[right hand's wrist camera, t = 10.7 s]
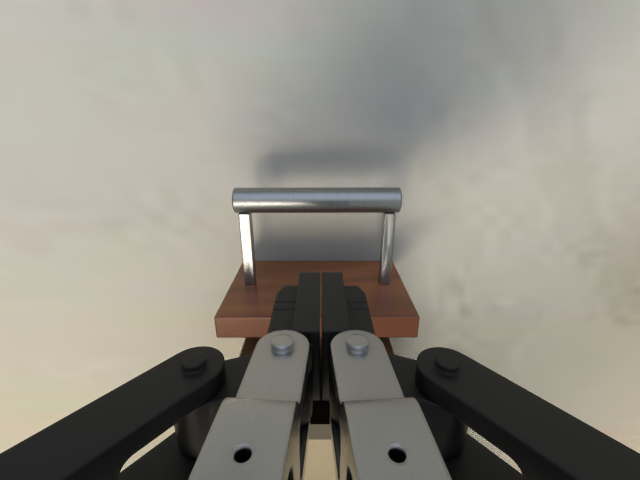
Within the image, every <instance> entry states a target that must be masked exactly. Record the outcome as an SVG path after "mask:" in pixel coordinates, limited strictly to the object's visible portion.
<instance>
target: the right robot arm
mask: <svg viewBox="0 0 640 480" xmlns="http://www.w3.org/2000/svg"><path fill="white" fill-rule="evenodd" d="M313 400H320V272H300V274H299V281H298V286H284V287H283V288H282V289H281V290H279V291H278V292H277V295H276V299H275V303H274V307H273V311H272V315H271V320H270V324H269V328H268V332H267V334H266V335H265V336H263V337H262V338H261V339H260V340H259V341H258V342H257V344H256V347H255V349H254V352H252V353H250V354H248V355H245V356H242V357H238V358H234V359H230V360H225V361H224V356H223V354H222V353H221V352H220V351H219V350H217V349H215V348H212V347H195V348H190V349H187V350H184V351H182V352H180V353H178V354H176V355H175V356H173V357H171V358H169V359H168V360H166V361H164V362H162V363H160V364H159V365H157V366H155V367H153V368H152V369H150V370H148V371H146V372H145V373H143V374H141V375H139V376H137V377H136V378H134V379H132V380H130V381H129V382H127V383H125V384H123V385H121V386H120V387H118V388H116V389H114V390H113V391H111V392H109V393H107V394H105V395H104V396H102V397H100V398H98V399H97V400H95V401H93V402H91V403H90V404H88V405H86V406H84V407H82V408H81V409H79V410H77V411H75V412H74V413H72V414H70V415H68V416H66V417H65V418H63V419H61V420H59V421H58V422H56V423H54V424H52V425H51V426H49V427H47V428H45V429H43V430H42V431H40V432H38V433H36V434H35V435H33V436H31V437H29V438H27V439H26V440H24V441H22V442H20V443H19V444H17V445H15V446H13V447H12V448H10V449H8V450H6V451H4V452H3V453H1V454H0V480H304V475H305V467H306V458H307V450H308V441H309V433H310V418H311V416H312V411H313ZM322 400H330V433H331V441H332V450H333V458H334V467H335V475H336V480H640V454H639V453H637V452H636V451H634V450H632V449H630V448H629V447H627V446H625V445H623V444H621V443H620V442H618V441H616V440H614V439H613V438H611V437H609V436H607V435H605V434H604V433H602V432H600V431H598V430H597V429H595V428H593V427H591V426H589V425H588V424H586V423H584V422H582V421H581V420H579V419H577V418H575V417H574V416H572V415H570V414H568V413H566V412H565V411H563V410H561V409H559V408H558V407H556V406H554V405H552V404H550V403H549V402H547V401H545V400H543V399H542V398H540V397H538V396H536V395H535V394H533V393H531V392H529V391H527V390H526V389H524V388H522V387H520V386H519V385H517V384H515V383H513V382H511V381H510V380H508V379H506V378H504V377H503V376H501V375H499V374H497V373H496V372H494V371H492V370H490V369H488V368H487V367H485V366H483V365H481V364H480V363H478V362H476V361H474V360H472V359H471V358H469V357H467V356H465V355H464V354H462V353H460V352H457V351H455V350H452V349H448V348H441V347H434V348H429V349H426V350H424V351H422V352H421V353H420V354H419V356H418V358H417V360H414V359H409V358H405V357H401V356H397V355H395V354H392V353H390V352H389V351H387V350H386V349H385V347H384V344H383V342H382V341H381V340H380V339H379V338H378V337H377V336H376V335H375V331H374V327H373V323H372V319H371V315H370V311H369V307H368V303H367V299H366V295H365V292H363V291H362V290H361V289H360V288H359V287H358V286H344V282H343V275H342V272H322ZM173 425H174V427H175V432H174V433H173V434H172V435H170V436H169V437H168V438H166V439H165V440H164V441H162V442H161V443H160V444H158V445H157V446H156V447H154V448H153V449H151V450H150V451H149V452H147V453H146V454H145V455H143V456H142V457H141V458H139V459H138V460H137V461H135V462H134V463H133V464H131V465H130V466H129V467H127V468H126V469H125V470H123V471H122V472H120V470H121V468H122V467H123V465H124V464H125V462H126V461H127V460H128V459H129V458H130V457H131V456H132V455H133V454H134V453H136V452H137V451H139V450H140V449H141V448H143V447H144V446H145V445H147V444H148V443H150V442H151V441H152V440H154V439H155V438H157V437H158V436H159V435H161V434H162V433H163V432H165V431H166V430H168V429H169V428H170V427H172V426H173ZM468 427H470V428H471V429H472V430H474V431H475V432H477V433H478V434H479V435H481V436H482V437H483V438H485V439H486V440H488V441H489V442H490V443H492V444H493V445H495V446H496V447H497V448H499V449H500V450H501V451H503V452H504V453H506V454H507V455H508V456H509V457H511V458H512V459H513V460H514V461H515V462H516V464H517V465H518V466H519V468H520V470H521V472H522V474H523V475H522V474H521V473H520V472H518V471H517V470H515V469H514V468H513V467H511V466H510V465H509V464H507V463H506V462H505V461H503V460H502V459H501V458H499V457H498V456H497V455H495V454H494V453H493V452H491V451H490V450H489V449H487V448H486V447H484V446H483V445H482V444H480V443H479V442H478V441H476V440H475V439H474V438H472V437H471V436H470V435H468V434H467V430H468Z"/></svg>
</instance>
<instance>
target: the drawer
mask: <svg viewBox="0 0 640 480" xmlns="http://www.w3.org/2000/svg"><path fill="white" fill-rule="evenodd" d="M232 205H233V209H234V212H236V213H239V224H240V235H241V247H242V258H243V263H242V265H241V267H240V269H239V271H238V273H237V275H236V277H235V279H234V281H233V283H232V284H231V286H230V288H229V290H228V292H227V294H226V296H225V298H224V300H223V302H222V304H221V306H220V308H219V310H218V312H217V313H216V315H215V318H214V319H215V327H216V335H217V337H246V339H245V342H244V345H243V348H242V351H241V354H240V357H242V356H245V355H248V354H250V353H252V352H254V349H255V347H256V344H257V342H258V341H259V340H260V339H261V338H262V337H263V336H265V335H266V334H267V332H268V328H269V324H270V320H271V315H272V311H273V307H274V303H275V299H276V295H277V292H278V291H279V290H281V289H282V288H283V287H284V286H298V281H299V274H300V272H320V400H313V411H312V416H311V418H310V424H330V400H322V272H342V275H343V282H344V286H358V287H359V288H360V289H361V290H362V291H363V292H365V295H366V299H367V303H368V307H369V311H370V315H371V319H372V323H373V327H374V331H375V335H376V336H377V337H378V338H379V339H380V340H381V341H382V342H383V344H384V347H385V349H386V350H387V351H389V352H390V353H392V354H394V351H393V348H392V345H391V342H390V338H389V337H417V335H418V327H419V315H418V313H417V311H416V309H415V307H414V305H413V303H412V301H411V299H410V297H409V295H408V293H407V291H406V288H405V286H404V284H403V282H402V280H401V278H400V276H399V274H398V272H397V270H396V268H395V266H394V264H393V262H392V253H393V240H394V228H395V215H396V214H395V213H394V212H399V211H400V209H401V205H402V193H401V189H400V188H234V190H233V193H232ZM252 213H383V216H382V232H381V247H380V261H255V251H254V238H253V224H252Z"/></svg>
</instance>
